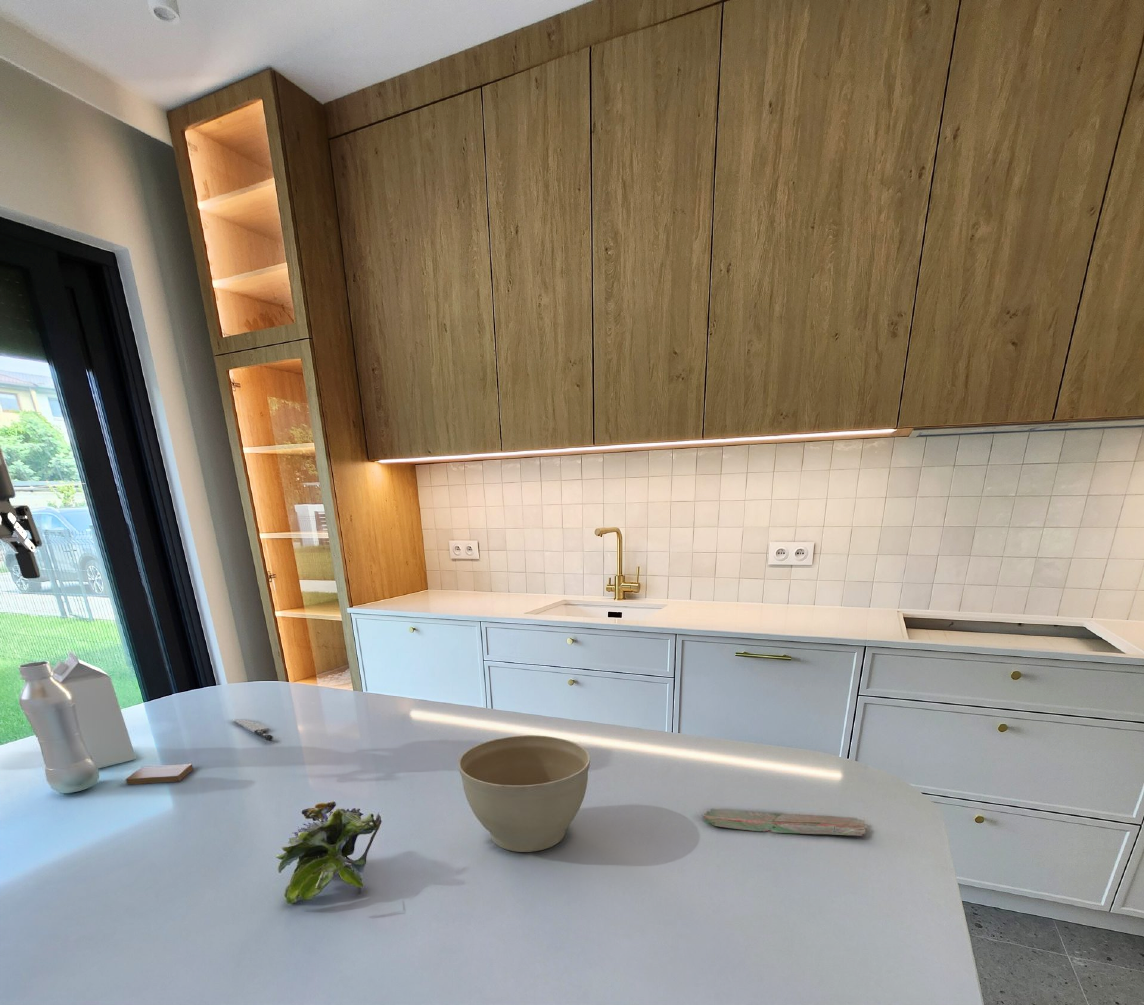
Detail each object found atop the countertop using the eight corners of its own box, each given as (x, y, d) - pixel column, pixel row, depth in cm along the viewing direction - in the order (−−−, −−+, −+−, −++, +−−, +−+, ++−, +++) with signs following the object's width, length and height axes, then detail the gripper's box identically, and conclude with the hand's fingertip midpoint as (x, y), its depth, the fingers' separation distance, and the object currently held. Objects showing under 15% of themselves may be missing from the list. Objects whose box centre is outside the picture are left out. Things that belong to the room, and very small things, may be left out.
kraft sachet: (127, 784, 103) (125, 779, 103) (143, 772, 108) (141, 766, 107) (179, 781, 104) (177, 775, 103) (193, 769, 108) (191, 763, 108)
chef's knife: (247, 717, 133) (232, 720, 131) (246, 712, 132) (231, 715, 130) (284, 739, 120) (268, 742, 118) (283, 733, 120) (267, 736, 118)
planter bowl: (527, 884, 74) (522, 798, 69) (440, 839, 84) (431, 761, 80) (617, 831, 84) (616, 753, 80) (530, 796, 95) (526, 726, 90)
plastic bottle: (41, 797, 99) (-8, 670, 92) (79, 779, 106) (36, 658, 98) (77, 799, 98) (31, 670, 91) (113, 780, 105) (72, 658, 97)
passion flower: (338, 905, 80) (364, 810, 82) (389, 923, 73) (416, 819, 75) (248, 894, 72) (280, 789, 74) (297, 913, 65) (330, 796, 67)
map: (702, 812, 89) (702, 806, 89) (862, 817, 84) (863, 811, 84) (700, 830, 85) (700, 824, 84) (870, 836, 80) (870, 830, 80)
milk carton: (126, 749, 118) (93, 645, 110) (136, 759, 113) (102, 651, 105) (79, 761, 113) (41, 653, 106) (88, 772, 108) (49, 660, 101)
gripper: (-19, 463, 96) (19, 576, 103) (-103, 460, 83) (-53, 590, 90) (34, 463, 97) (69, 575, 103) (-41, 459, 84) (4, 588, 90)
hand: (12, 582), depth 96 cm, fingers open, 8 cm apart
